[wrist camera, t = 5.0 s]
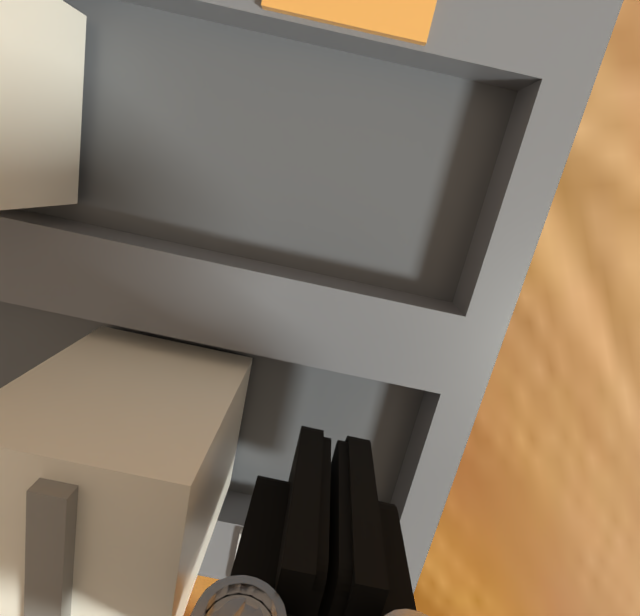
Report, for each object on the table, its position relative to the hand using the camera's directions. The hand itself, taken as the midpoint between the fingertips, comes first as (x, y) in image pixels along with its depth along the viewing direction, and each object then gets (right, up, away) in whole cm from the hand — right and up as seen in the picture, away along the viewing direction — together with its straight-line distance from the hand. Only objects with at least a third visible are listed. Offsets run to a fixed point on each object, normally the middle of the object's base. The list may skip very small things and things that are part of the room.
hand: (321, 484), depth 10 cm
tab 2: (-4, +1, +2) cm, 5 cm away
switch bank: (-4, +5, +2) cm, 7 cm away
